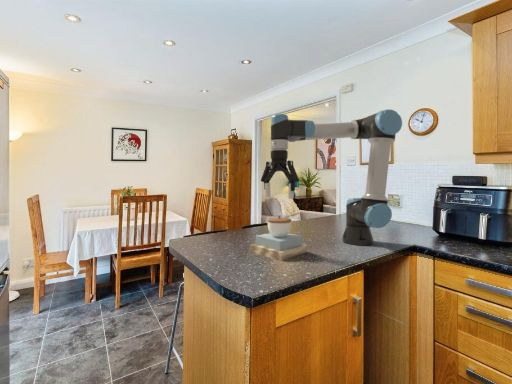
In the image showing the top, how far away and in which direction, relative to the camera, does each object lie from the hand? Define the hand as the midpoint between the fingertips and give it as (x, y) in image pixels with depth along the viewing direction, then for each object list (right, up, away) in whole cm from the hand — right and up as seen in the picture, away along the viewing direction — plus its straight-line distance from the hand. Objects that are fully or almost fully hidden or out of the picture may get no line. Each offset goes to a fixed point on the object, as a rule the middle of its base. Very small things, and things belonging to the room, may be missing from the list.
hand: (278, 197), depth 123 cm
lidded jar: (0, -18, +1) cm, 18 cm away
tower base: (0, -25, +1) cm, 25 cm away
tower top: (0, -21, +1) cm, 21 cm away
